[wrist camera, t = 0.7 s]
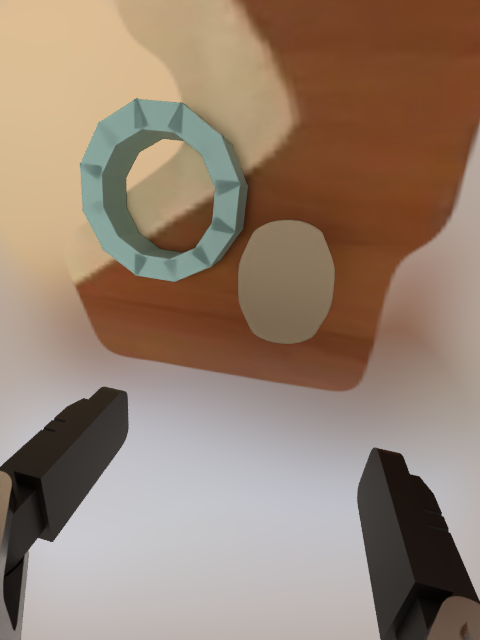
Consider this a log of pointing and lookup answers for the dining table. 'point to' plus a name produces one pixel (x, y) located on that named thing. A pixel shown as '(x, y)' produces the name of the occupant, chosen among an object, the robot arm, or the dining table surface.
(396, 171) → the dining table surface
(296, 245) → the handle
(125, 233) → the notched ring
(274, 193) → the dining table surface
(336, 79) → the dining table surface
